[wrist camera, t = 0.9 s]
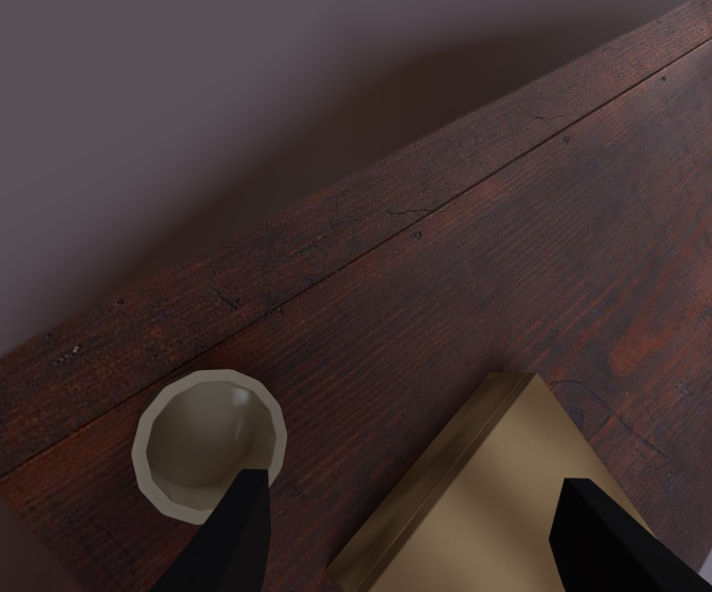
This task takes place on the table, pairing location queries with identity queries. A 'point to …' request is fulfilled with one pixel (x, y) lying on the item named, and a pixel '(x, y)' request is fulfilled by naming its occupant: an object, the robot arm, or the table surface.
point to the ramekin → (204, 440)
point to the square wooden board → (479, 500)
